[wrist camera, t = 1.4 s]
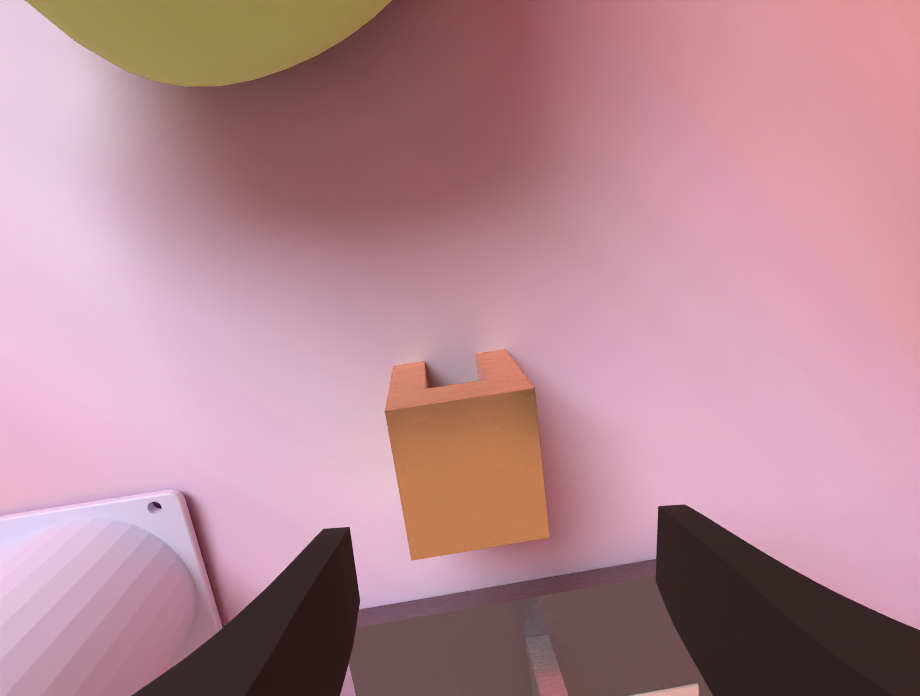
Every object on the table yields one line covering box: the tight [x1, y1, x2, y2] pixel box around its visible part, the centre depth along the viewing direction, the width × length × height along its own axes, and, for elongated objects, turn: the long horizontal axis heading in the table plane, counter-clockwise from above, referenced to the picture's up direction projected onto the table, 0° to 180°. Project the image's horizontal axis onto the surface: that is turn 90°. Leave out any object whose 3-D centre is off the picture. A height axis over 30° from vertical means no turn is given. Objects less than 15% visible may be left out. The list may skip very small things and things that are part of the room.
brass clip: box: [385, 349, 550, 561], centre depth 18 cm, size 4×5×5 cm
